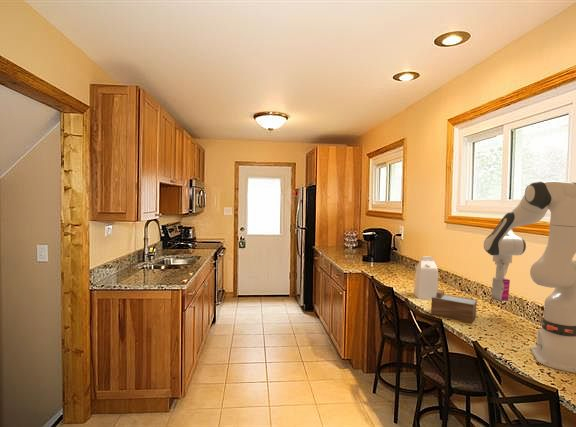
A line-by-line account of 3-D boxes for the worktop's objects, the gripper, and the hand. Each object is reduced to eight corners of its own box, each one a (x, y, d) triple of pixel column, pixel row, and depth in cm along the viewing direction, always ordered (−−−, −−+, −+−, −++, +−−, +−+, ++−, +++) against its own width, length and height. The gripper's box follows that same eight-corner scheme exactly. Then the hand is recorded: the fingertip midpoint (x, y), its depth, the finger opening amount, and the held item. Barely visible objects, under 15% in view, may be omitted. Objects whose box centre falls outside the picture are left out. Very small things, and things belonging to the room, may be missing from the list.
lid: (473, 306, 179) (473, 299, 179) (432, 299, 191) (432, 292, 191) (476, 302, 187) (476, 295, 187) (436, 295, 198) (436, 289, 198)
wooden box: (472, 323, 178) (473, 305, 178) (431, 314, 190) (431, 297, 190) (475, 317, 188) (476, 299, 188) (436, 309, 200) (437, 293, 199)
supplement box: (500, 301, 185) (501, 279, 184) (490, 298, 191) (492, 277, 190) (508, 300, 187) (510, 279, 186) (499, 297, 192) (500, 276, 192)
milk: (432, 294, 231) (434, 255, 230) (438, 299, 220) (440, 258, 219) (413, 293, 233) (415, 254, 232) (418, 298, 221) (420, 257, 220)
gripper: (507, 262, 177) (506, 289, 178) (510, 257, 194) (509, 281, 195) (493, 260, 181) (491, 287, 182) (497, 255, 198) (495, 280, 198)
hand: (500, 284), depth 188 cm, fingers closed on supplement box, 8 cm apart
